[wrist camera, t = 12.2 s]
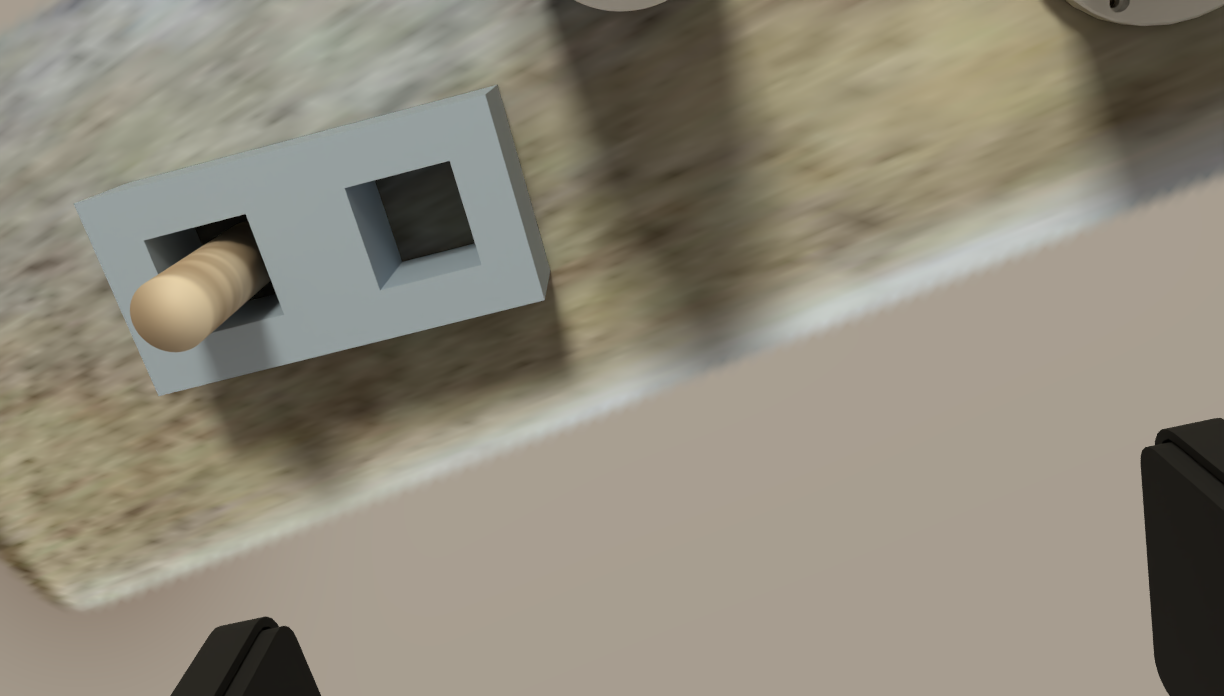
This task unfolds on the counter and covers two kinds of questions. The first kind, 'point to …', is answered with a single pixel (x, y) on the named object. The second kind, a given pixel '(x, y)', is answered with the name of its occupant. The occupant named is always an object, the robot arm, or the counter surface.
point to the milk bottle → (620, 4)
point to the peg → (199, 291)
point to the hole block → (331, 238)
